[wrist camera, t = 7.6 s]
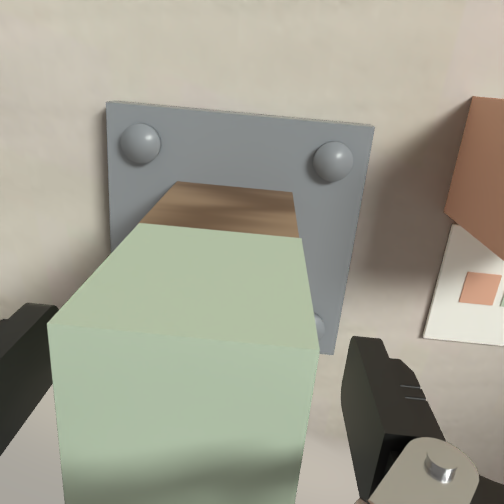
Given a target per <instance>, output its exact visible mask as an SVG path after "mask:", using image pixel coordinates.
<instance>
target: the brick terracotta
mask: <svg viewBox="0 0 504 504" xmlns="http://www.w3.org/2000/svg"><path fill="white" fill-rule="evenodd" d="M444 213H445V214H447V215H448V216H449V217H450V218H452V219H453V220H454V221H455V222H456V223H458V224H459V225H460V226H461V227H463V228H464V229H465V230H466V231H467V232H469V233H470V234H471V235H472V236H474V237H475V238H476V239H477V240H479V241H480V242H481V243H482V244H483V245H485V246H486V247H487V248H488V249H490V250H491V251H492V252H493V253H495V254H496V255H497V256H498V257H499V258H501V259H502V260H503V261H504V99H498V98H487V97H476V96H473V97H472V101H471V105H470V109H469V113H468V117H467V121H466V125H465V129H464V133H463V137H462V141H461V145H460V149H459V153H458V157H457V161H456V165H455V169H454V173H453V177H452V181H451V185H450V189H449V193H448V197H447V201H446V205H445V209H444Z"/></svg>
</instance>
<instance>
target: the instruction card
mask: <svg viewBox="0 0 504 504" xmlns="http://www.w3.org/2000/svg"><path fill="white" fill-rule="evenodd" d="M423 338H428V339H438V340H448V341H459V342H469V343H479V344H489V345H499V346H504V261H503V260H502V259H501V258H499V257H498V256H497V255H496V254H495V253H493V252H492V251H491V250H490V249H488V248H487V247H486V246H485V245H483V244H482V243H481V242H480V241H479V240H477V239H476V238H475V237H474V236H472V235H471V234H470V233H469V232H467V231H466V230H465V229H464V228H463V227H461V226H460V225H459V224H452V226H451V230H450V234H449V238H448V241H447V245H446V249H445V253H444V257H443V260H442V264H441V268H440V272H439V275H438V279H437V283H436V287H435V291H434V294H433V298H432V302H431V306H430V310H429V313H428V317H427V321H426V325H425V328H424V332H423Z"/></svg>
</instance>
